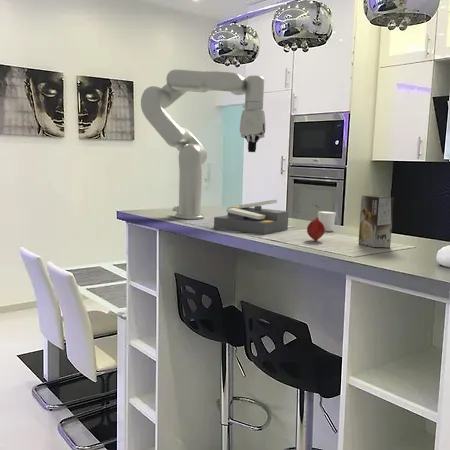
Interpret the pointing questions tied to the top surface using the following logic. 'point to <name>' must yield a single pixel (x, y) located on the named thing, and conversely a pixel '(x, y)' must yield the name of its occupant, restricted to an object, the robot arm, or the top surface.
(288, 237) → the top surface
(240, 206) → the rear rocker
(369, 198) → the coffee box
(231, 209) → the bar
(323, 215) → the white cup
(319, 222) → the onion
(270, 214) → the switch console
